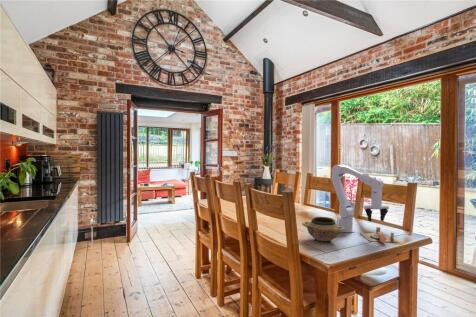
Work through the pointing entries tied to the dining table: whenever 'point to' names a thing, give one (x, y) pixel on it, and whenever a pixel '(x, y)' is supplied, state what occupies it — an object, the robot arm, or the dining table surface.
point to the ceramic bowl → (323, 229)
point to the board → (367, 236)
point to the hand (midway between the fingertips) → (375, 220)
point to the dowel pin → (392, 236)
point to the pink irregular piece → (379, 236)
